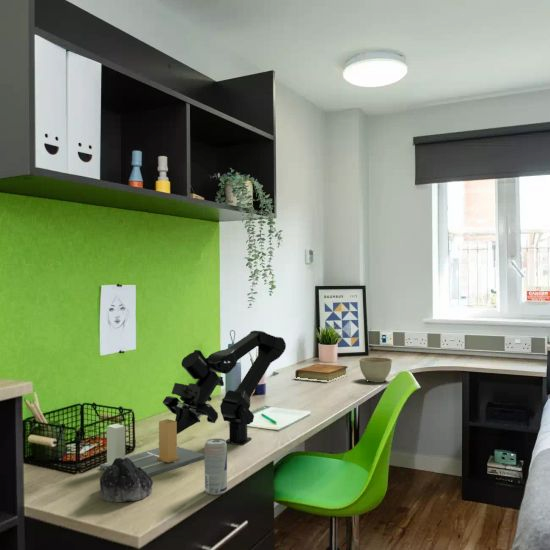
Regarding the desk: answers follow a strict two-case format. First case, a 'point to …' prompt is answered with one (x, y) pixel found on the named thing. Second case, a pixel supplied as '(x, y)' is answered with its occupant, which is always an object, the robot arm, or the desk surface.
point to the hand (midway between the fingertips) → (173, 434)
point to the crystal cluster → (124, 482)
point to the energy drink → (215, 466)
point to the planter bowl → (375, 368)
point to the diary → (321, 372)
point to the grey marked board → (155, 466)
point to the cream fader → (115, 443)
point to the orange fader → (167, 441)
